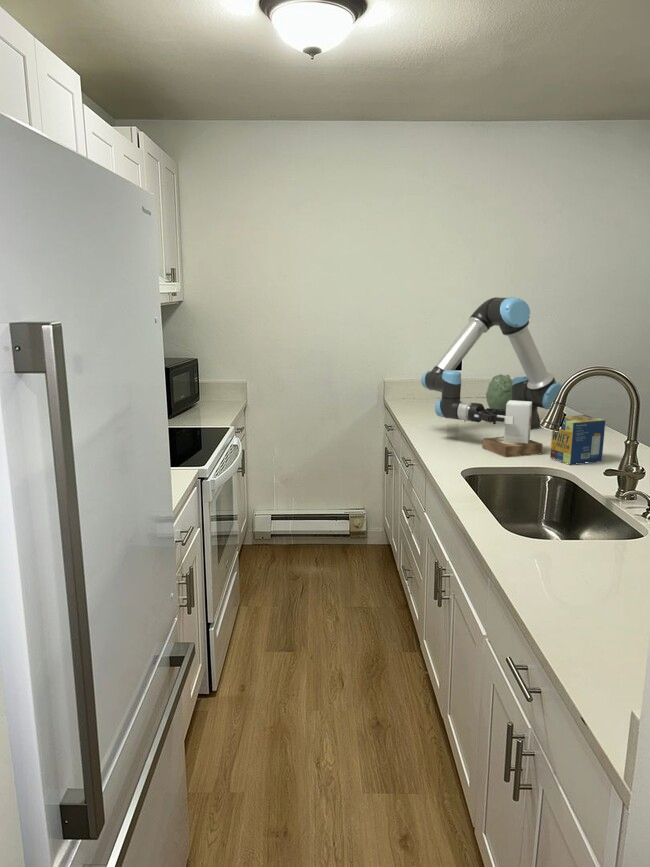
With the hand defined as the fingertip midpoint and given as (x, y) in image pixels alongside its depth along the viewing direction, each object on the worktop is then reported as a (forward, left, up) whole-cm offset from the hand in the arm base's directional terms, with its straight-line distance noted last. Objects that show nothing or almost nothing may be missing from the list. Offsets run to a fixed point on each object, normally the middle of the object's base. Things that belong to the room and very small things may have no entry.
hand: (521, 418), depth 259 cm
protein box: (-12, +17, -14) cm, 25 cm away
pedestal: (+2, -3, -13) cm, 14 cm away
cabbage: (-42, -79, -13) cm, 91 cm away
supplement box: (+1, -1, -9) cm, 9 cm away
